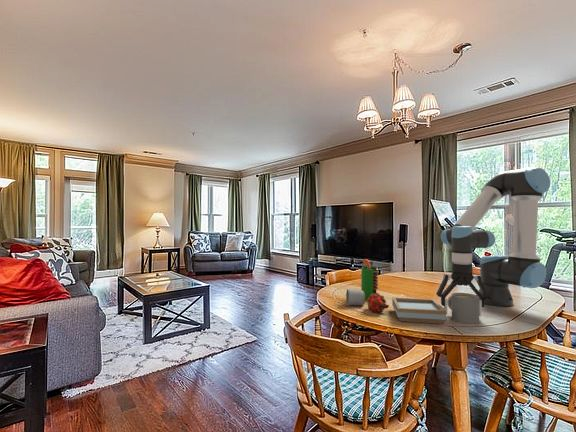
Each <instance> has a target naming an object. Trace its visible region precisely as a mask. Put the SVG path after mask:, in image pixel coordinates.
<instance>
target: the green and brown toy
mask: <svg viewBox="0 0 576 432" xmlns="http://www.w3.org/2000/svg"><path fill="white" fill-rule="evenodd" d="M362 264H365V265H367V266H362V267H361V278H360V281H361V282H360V284H361V285H360V286H361V287H360V288H361V289H360V290H362V291H364V293H365V300H366V301H367V300H368V297H369V296H370V295H371V294H373V293H377V290H378V289H379V287H378V285H379V270H377V269H378V268H377V266H371V264H370V260H369V259H363V260H362Z"/></svg>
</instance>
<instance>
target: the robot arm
mask: <svg viewBox="0 0 576 432" xmlns="http://www.w3.org/2000/svg"><path fill="white" fill-rule="evenodd" d="M550 187H551V179H550V176H549V174H548V173H547V171H546V170H545V169H544V168H542V167H539V166H538V167H537V166H536V167H535V166H534V167H526V168H525V167H524V168H520V169H514V170H512V169H511V170H505V171H502V172H501V173H498V174H497V175H495V176H493V177H492V178H491V179H489V180H488V181H487V182H486V183H485V184H484V185H483V186H482V188H481V189H480V194H479V195H477V197H476V198H475V200H474V201H473V202H472V203H471V204H470V206H469V207H468V208H467V209H466V210H465V211H464V212H463V213H462V215H461V216H460V217H459V218H458V219H457V221H456V222H455V223H454V224H453V225H452V227H451V228H446V229H444V230H442V231H441V233H440V241H441V242H442V243H443V244H444V245H447V246H451V262H452V263H451V274H446V273H444V274H443V279H442V281H441V282H440V285H439V287H438V290H437V291H436V293H435V295H436V296H437V297H438V298H440V305H441V306H442V307H443V308H444V309H445V310H446V315H448V298H447V297H448V295H449V294H450V293H451V291H452V290H454V289H455V287H457V286H465V287H468V286H469V288H470V289H471V291H473V292H474V295H477V296H479V317H482V316H483V314H482V313H483V310H482V309H484V308H485V305H490V306H496V307H510V306H511V307H512V306H513V305H514V299H513V298H514V297H513V296H512V293H511V290H510V288H509V287H510V285H513V286H517V287H522V288H527V289H528V288H529V289H536V288H539V287H541V285H542V284H543V283H544V282H545V280H546V277H547V268H546V266H545V264H544V263H542V262H541V257H540V256H538V255H537V237H538V236H537V235H538V210H539V209H538V208H539V201H540V200H541V199H543V197H544V196H543V195H544V193H547V192H548V191H549V189H550ZM506 196H510V199H512V200H513V201H514V208H513V209H514V210H513V229H512V233H513V234H512V250H511V251H512V252H511V253H510V254H508V255H487V256H486V255H484V256H481V257H480V263H479V266H480V268H479V271H480V272H479V273H480V275H479V274H476V275H473V249H487V248H491V247H493V245H494V244H496V237H495V234H494V232H492V231H490V230H485V229H484V230H483V229H482V230H480V229H479V230H477V229H476V230H474V229H475V227H476V226H477V225H478V224H479V223H480V221H481V220H482V219H483V218H484V217H485V216H486V214H487V213H488V212H489V211H490V210H491V208H492V207H493V206H494V204H495V203H496V202H499V201H501V199H502V198H503V197H506ZM450 279H451V280H452V281H451V282H450V284H449V285H448V286H447V284H448V282H449V281H450ZM473 280H475V281H476V283H477V285H478V287H479V288H476V286H475V285H474V284H473V283H472V281H473ZM446 286H447V287H446Z"/></svg>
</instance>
